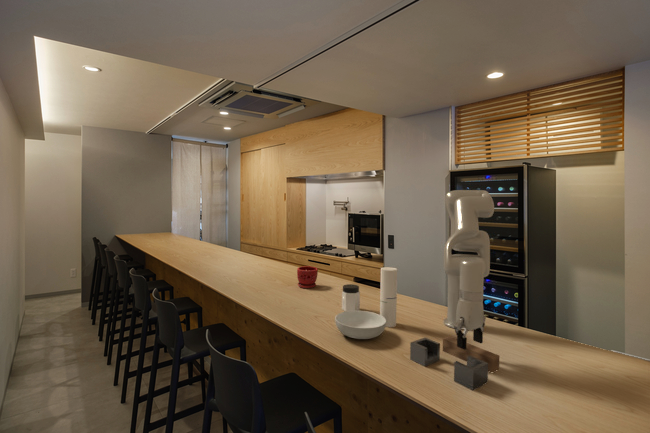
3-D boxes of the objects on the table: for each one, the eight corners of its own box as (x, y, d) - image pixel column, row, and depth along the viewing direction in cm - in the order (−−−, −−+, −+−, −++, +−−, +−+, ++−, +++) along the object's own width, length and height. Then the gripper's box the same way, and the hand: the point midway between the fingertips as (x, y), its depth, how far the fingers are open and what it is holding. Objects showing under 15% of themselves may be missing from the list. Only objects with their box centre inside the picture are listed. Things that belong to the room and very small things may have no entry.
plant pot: (294, 288, 210) (294, 269, 210) (299, 283, 223) (299, 265, 223) (315, 289, 208) (315, 270, 208) (319, 284, 221) (319, 266, 221)
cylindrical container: (396, 327, 147) (397, 270, 145) (379, 326, 148) (380, 270, 147) (396, 322, 154) (397, 267, 152) (380, 320, 155) (381, 266, 154)
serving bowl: (373, 350, 125) (373, 331, 124) (325, 337, 136) (325, 320, 135) (393, 332, 142) (393, 315, 142) (349, 322, 153) (349, 307, 153)
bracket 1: (410, 359, 117) (410, 342, 117) (424, 353, 122) (425, 337, 122) (424, 366, 112) (425, 348, 112) (439, 360, 117) (439, 343, 117)
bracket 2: (487, 382, 103) (488, 363, 102) (472, 390, 98) (473, 370, 98) (468, 373, 108) (469, 355, 108) (453, 381, 103) (454, 362, 103)
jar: (339, 307, 173) (339, 284, 173) (353, 306, 176) (353, 283, 176) (347, 313, 165) (347, 289, 164) (362, 311, 168) (362, 287, 168)
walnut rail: (442, 351, 124) (442, 338, 124) (449, 349, 127) (449, 336, 126) (492, 373, 108) (492, 358, 108) (499, 370, 111) (499, 355, 110)
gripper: (475, 290, 124) (473, 336, 125) (446, 296, 114) (445, 346, 115) (495, 294, 118) (493, 343, 118) (466, 301, 108) (465, 354, 109)
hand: (469, 344), depth 117 cm, fingers open, 9 cm apart
